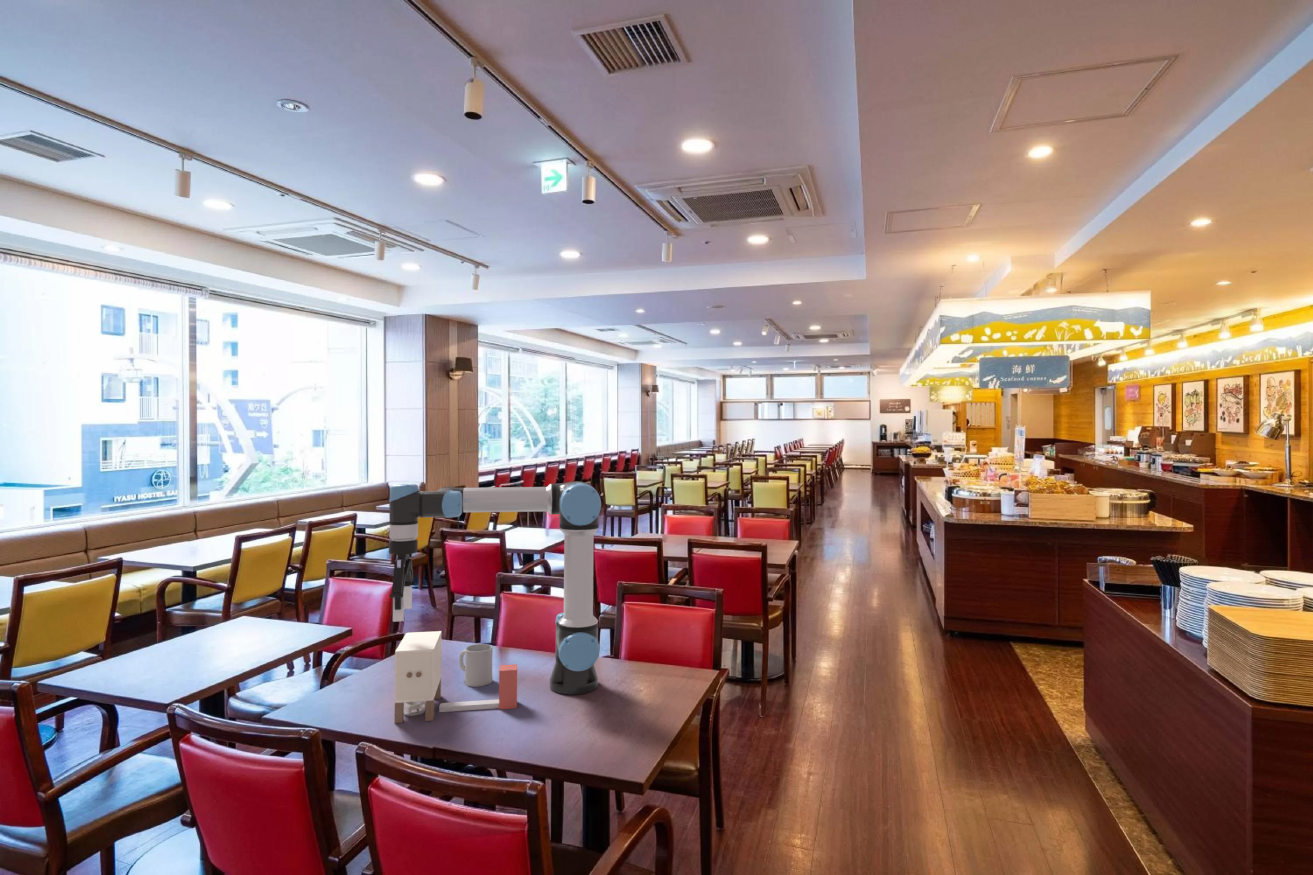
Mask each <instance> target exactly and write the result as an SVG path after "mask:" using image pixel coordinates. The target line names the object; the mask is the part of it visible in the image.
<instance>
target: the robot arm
mask: <svg viewBox="0 0 1313 875" xmlns="http://www.w3.org/2000/svg"><path fill="white" fill-rule="evenodd" d="M419 489H420V488H419V486H418V484H417V483H396V484H393V485H391V487H390V489H389V501H388V502H389V511H388V512H389V513H388V514H389V526H388V527H387V529H386V530H387V531H389V536H388V538H389V539H390V540H389V542H388V552H389V554H390V555H396V556H397V557H396V559H394V561H393V565H394V566H393V575H392V576H393V577H392V586H391V594H389V599H392V622H395V623H396V622H404V620H405V610H411V609H413V586H416V581H414V569H413V560H412V558H413V556H412V555H413V554H416V553H418V548H419V547H418V545H419V544H418V543H419V542H418V541H419V540H418V539H417V538H418V536H419V518H421V519H422V518H448V519H449V518H458V517H460V516H461V515H462V514H463V513H509V512H510V513H513V512H515V513H519V512H520V513H523V512H529V513H530V512H532V513H533V512H534V513H535V512H547V513H548V514H549V515H558V516H559V520H558V521H559V522H558V523H559V528H558V529H559V531H561V533H562V534H563V536H564V541H563V542H564V544H563V545H564V546H563V549H564V551H563V552H564V553H563V554H564V555H563V557H564V559H563V562H564V563H563V566H564V567H563V612H560V613H558V614H557V615H556V616H555V622H554V624H555V661H554V662H555V663H554V665H553V668H552V672H551V674H550V678H549V688H550V690H551V691H552V692H554V693H558V694H562V695H581V694H586V693H590V692H593V691H594V690H596V689H597V688H598V686H599V677H598V673H597V670H596V667H595V663H596V662H597V661H598V660H599V656H600V650H601V649H600V648H601V647H600V642H599V623H598V622H599V619H597V618H596V616H594V536H595V535H594V534H595V533H596V532H597V531H598V530H599V529H600V525H599V524H600V512H601V508H602V501H601V496H600V494H599V492H598V491H597V490H596V489H595V487H593V486H591V484H589V483H586V482H584V481H580V480H579V481H578V480H576V481H575V480H574V481H569V482H563V483H549V484H548V485H547V486H527V487H526V486H523V487H521V486H520V487H519V486H518V487H516V486H515V487H514V486H513V487H510V486H509V487H507V486H506V487H505V486H504V487H500V486H499V487H495V486H494V487H452V486H444V487H441V488H438V490H428V491H427V490H426V491H425V490H419Z"/></svg>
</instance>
